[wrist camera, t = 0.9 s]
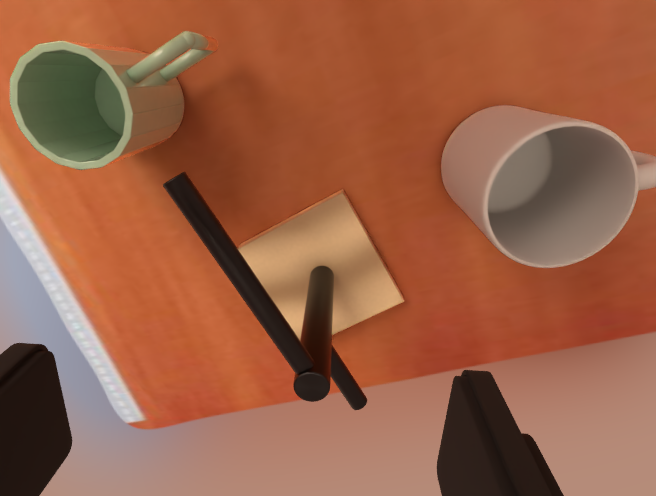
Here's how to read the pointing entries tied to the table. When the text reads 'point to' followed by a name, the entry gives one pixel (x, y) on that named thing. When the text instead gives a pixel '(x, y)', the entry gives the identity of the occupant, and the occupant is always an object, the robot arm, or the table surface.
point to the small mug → (101, 98)
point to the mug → (543, 183)
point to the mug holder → (302, 282)
